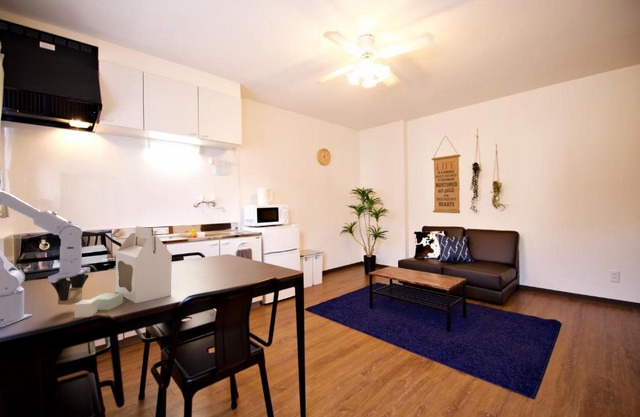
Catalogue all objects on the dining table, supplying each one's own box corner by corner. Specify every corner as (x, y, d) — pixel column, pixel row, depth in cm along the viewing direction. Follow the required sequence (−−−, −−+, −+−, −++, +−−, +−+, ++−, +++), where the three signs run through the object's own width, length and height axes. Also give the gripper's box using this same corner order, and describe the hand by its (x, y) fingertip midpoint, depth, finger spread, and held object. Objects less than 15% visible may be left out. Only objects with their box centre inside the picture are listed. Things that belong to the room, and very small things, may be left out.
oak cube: (71, 304, 97) (71, 291, 97) (57, 304, 97) (58, 291, 97) (82, 300, 101) (82, 287, 101) (69, 300, 101) (69, 287, 101)
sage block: (109, 310, 101) (109, 299, 101) (89, 310, 101) (89, 299, 101) (123, 303, 108) (123, 293, 108) (104, 303, 108) (104, 293, 108)
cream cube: (90, 316, 94) (90, 303, 94) (74, 318, 93) (74, 304, 93) (97, 311, 99) (97, 299, 99) (82, 312, 98) (82, 299, 98)
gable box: (171, 295, 118) (172, 228, 117) (135, 304, 107) (136, 229, 107) (149, 285, 131) (149, 225, 131) (115, 292, 121) (116, 226, 120)
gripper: (63, 263, 92) (62, 305, 92) (98, 255, 106) (97, 291, 106) (41, 262, 92) (40, 304, 92) (79, 255, 106) (78, 291, 106)
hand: (70, 298), depth 99 cm, fingers closed on oak cube, 4 cm apart
